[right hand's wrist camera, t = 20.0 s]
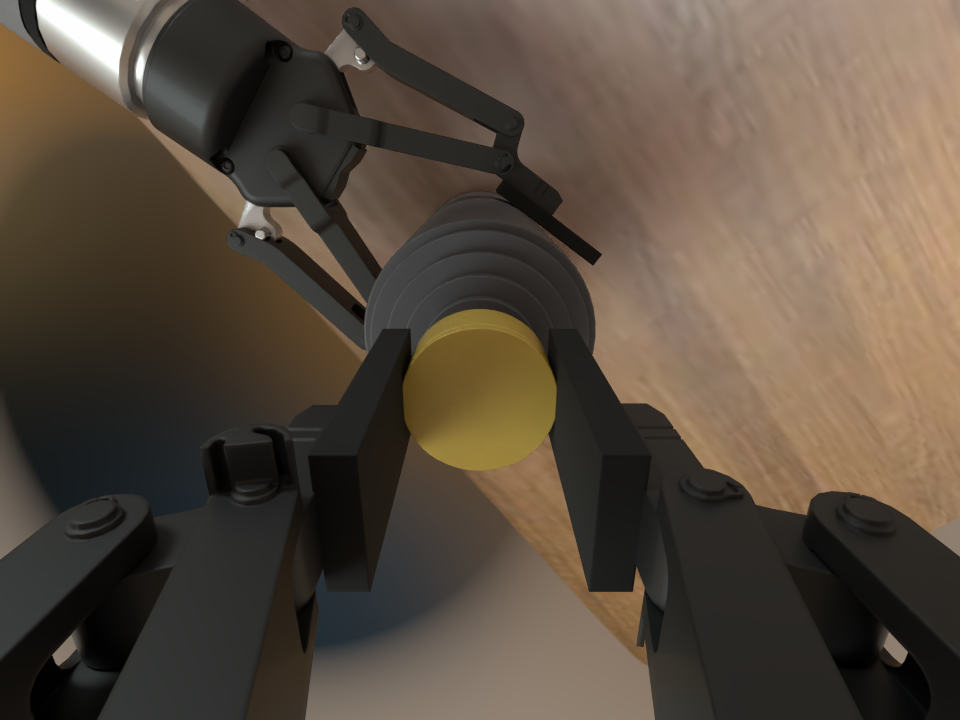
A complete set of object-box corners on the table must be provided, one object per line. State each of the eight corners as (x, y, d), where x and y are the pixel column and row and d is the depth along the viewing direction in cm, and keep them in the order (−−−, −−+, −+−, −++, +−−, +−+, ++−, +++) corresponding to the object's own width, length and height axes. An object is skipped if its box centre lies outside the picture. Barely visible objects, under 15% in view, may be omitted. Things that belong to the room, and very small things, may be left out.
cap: (541, 441, 15) (548, 475, 13) (408, 432, 15) (398, 466, 13) (558, 313, 14) (568, 333, 12) (411, 303, 13) (401, 322, 12)
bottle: (538, 190, 34) (647, 234, 12) (535, 305, 36) (619, 515, 15) (419, 192, 34) (307, 240, 12) (425, 307, 37) (345, 519, 15)
